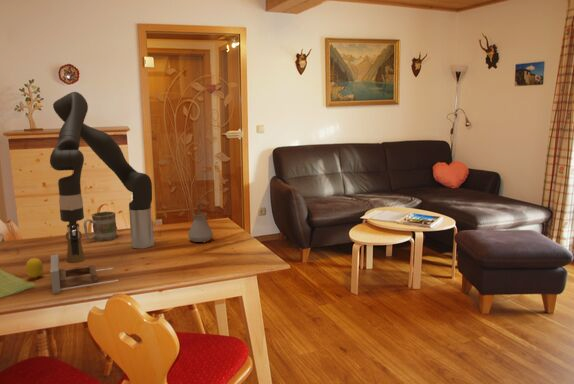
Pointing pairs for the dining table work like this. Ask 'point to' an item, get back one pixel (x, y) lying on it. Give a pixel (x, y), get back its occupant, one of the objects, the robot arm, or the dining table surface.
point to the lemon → (34, 267)
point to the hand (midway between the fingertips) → (75, 253)
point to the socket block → (78, 276)
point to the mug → (102, 226)
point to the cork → (70, 257)
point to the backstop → (56, 276)
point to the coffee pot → (200, 227)
